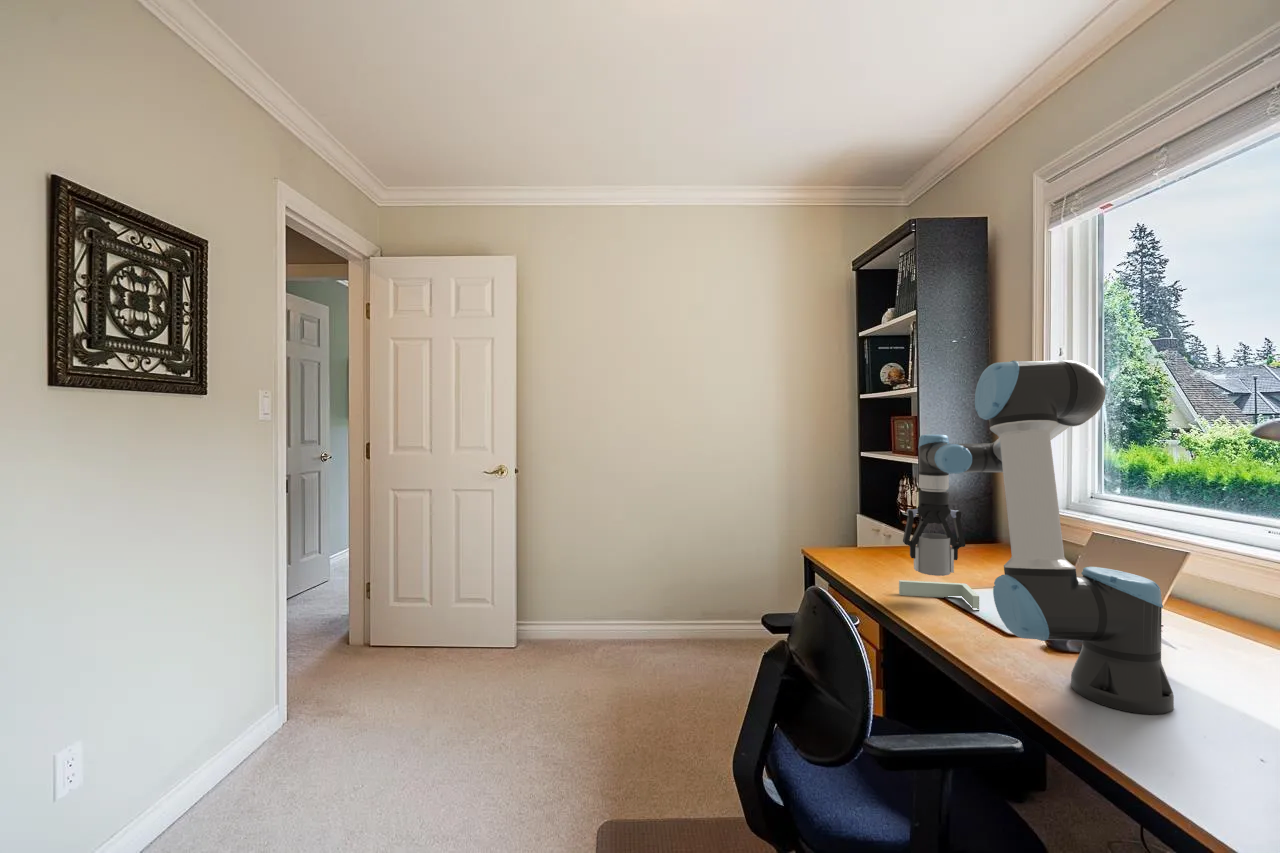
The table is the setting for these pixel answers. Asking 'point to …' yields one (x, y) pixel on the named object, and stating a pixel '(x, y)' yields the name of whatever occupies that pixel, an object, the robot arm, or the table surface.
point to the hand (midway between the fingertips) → (933, 570)
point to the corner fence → (939, 590)
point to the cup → (934, 554)
